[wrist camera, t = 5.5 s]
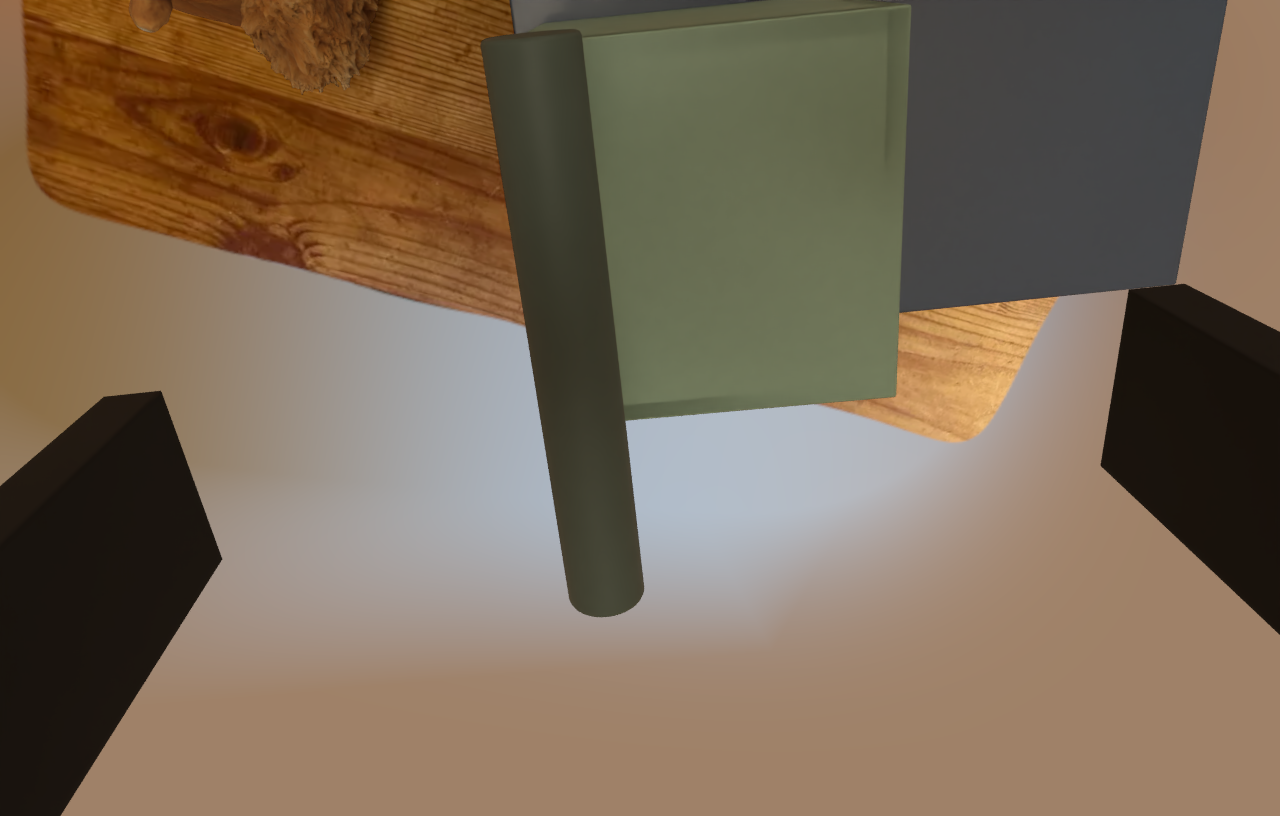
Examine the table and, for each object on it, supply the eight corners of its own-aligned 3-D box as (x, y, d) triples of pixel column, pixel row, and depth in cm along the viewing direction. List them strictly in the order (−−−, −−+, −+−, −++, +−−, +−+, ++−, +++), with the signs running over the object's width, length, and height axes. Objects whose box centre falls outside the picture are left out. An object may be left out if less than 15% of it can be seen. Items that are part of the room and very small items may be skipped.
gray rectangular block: (1002, -81, 47) (1249, -117, 29) (982, 182, 53) (1176, 285, 36) (539, -33, 47) (503, -39, 29) (572, 224, 54) (559, 348, 36)
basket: (1067, -19, 13) (425, 47, 13) (1001, 586, 18) (533, 624, 18) (818, -22, 30) (540, 7, 30) (820, 288, 35) (579, 310, 35)
